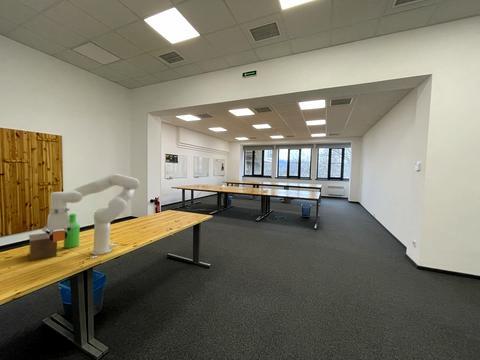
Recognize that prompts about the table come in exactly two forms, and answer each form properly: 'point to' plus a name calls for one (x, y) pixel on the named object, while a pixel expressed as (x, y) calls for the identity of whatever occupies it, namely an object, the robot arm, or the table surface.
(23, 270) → the table surface
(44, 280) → the table surface
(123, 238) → the table surface
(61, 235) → the cube
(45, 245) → the shelf
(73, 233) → the bottle
